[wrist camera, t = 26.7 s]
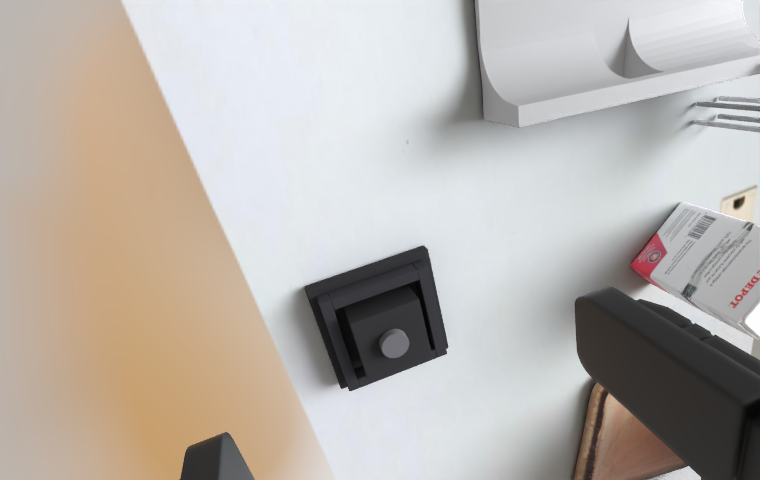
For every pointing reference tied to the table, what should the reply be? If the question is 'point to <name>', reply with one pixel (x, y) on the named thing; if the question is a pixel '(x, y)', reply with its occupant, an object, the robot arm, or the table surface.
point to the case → (620, 444)
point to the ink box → (707, 264)
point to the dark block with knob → (388, 330)
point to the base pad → (367, 283)
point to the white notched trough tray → (608, 55)
